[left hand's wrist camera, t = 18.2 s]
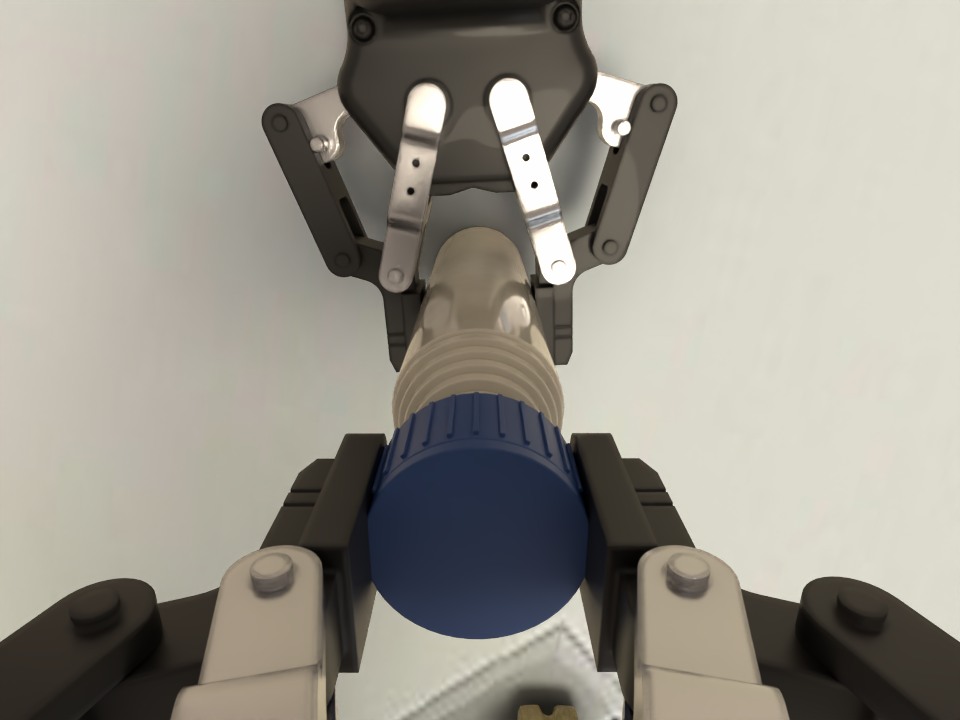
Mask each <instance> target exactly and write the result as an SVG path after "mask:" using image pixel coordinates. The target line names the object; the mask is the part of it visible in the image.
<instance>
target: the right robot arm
mask: <svg viewBox="0 0 960 720" xmlns="http://www.w3.org/2000/svg"><path fill="white" fill-rule="evenodd" d="M344 4H345V13H346V22H347V33H348V42H347V50H346V55H345V58H344V61H343V64H342V66H341V69H340V71H339V75H338V82H337V86H336V87H334V88H331V89H329V90H327V91H324V92H322V93H320V94H317V95H315V96H313V97H310V98H308V99H305V100H303V101H301V102H298V103H296V104H293V105H290V104H281V103H276V104H272V105H270V106H269V107H267V108H266V110H265V111H264V113H263V115H262V127H263V130H264V132H265V134H266V136H267V138H268V141H269V143H270V145H271V147H272V149H273V151H274V153H275V156H276V158H277V160H278V162H279V164H280V166H281V168H282V171H283V173H284V175H285V177H286V179H287V181H288V184H289V186H290V188H291V190H292V192H293V194H294V196H295V199H296V201H297V203H298V205H299V207H300V209H301V211H302V214H303V216H304V218H305V220H306V222H307V224H308V226H309V229H310V231H311V233H312V235H313V237H314V239H315V241H316V244H317V246H318V248H319V250H320V252H321V254H322V257H323V259H324V261H325V263H326V265H327V267H328V269H329V270H330V271H331V272H332V273H333V274H335V275H337V276H339V277H348V276H353V277H356V278H360V279H363V280H366V281H369V282H371V283H373V284H374V285H376V286H377V287H378V288H379V290H380V291H381V293H382V296H383V300H384V309H385V318H386V328H387V335H388V336H387V337H388V345H389V356H390V361H391V363H392V365H393V367H394V369H395V370H396V372H400V369H401V366H402V363H403V360H404V357H405V354H406V350H407V347H408V344H409V341H410V338H411V335H412V332H413V329H414V326H415V323H416V320H417V317H418V313H419V310H420V307H421V304H422V301H423V298H424V295H425V292H426V287H425V279H424V280H419V272H418V266H419V262H420V257H421V252H422V247H423V242H424V237H425V232H426V227H427V223H428V219H429V215H430V210H431V206H432V201H433V196H442V195H451V194H454V193H457V192H460V191H463V190H466V189H469V188H478V189H482V190H487V191H491V192H496V193H499V192H515V194H516V197H517V200H518V203H519V206H520V210H521V213H522V215H523V218H524V221H525V225H526V228H527V231H528V234H529V237H530V241H531V244H532V247H533V250H534V253H535V256H536V257H535V263H536V274H532V275H530V283H531V291H532V294H533V297H534V301H535V304H536V307H537V310H538V313H539V317H540V320H541V323H542V326H543V329H544V333H545V336H546V339H547V342H548V345H549V349H550V352H551V355H552V358H553V361H554V365H567V364H568V361H569V359H570V356H571V354H572V290H573V285H574V282H575V280H576V279H577V277H578V276H579V275H580V274H581V273H583V272H584V271H586V270H589V269H591V268H593V267H596V266H598V265H601V264H607V265H611V264H615V263H617V262H619V261H621V260H622V259H623V258H624V256H625V255H626V252H627V249H628V247H629V244H630V241H631V238H632V235H633V232H634V229H635V226H636V223H637V221H638V218H639V215H640V212H641V209H642V206H643V203H644V200H645V197H646V195H647V192H648V189H649V186H650V183H651V180H652V177H653V174H654V171H655V169H656V166H657V163H658V160H659V157H660V154H661V151H662V148H663V145H664V143H665V140H666V137H667V134H668V131H669V128H670V125H671V122H672V119H673V117H674V114H675V111H676V108H677V96H676V93H675V91H674V90H673V89H672V88H671V87H670V86H668V85H666V84H662V83H659V84H649V85H642V84H638V83H635V82H632V81H628V80H625V79H621V78H618V77H615V76H611V75H608V74H604V73H601V72H598V70H597V64H596V61H595V58H594V56H593V54H592V52H591V50H590V48H589V46H588V44H587V42H586V39H585V36H584V31H583V26H582V0H344ZM587 103H590V104H591V105H592V106H594V108H595V109H596V111H597V114H598V127H597V132H598V136H599V138H600V139H601V141H602V142H603V143H605V144H606V145H609V146H610V149H609V152H608V155H607V158H606V161H605V164H604V168H603V171H602V174H601V177H600V180H599V183H598V186H597V189H596V193H595V196H594V199H593V202H592V205H591V208H590V211H589V215H588V218H587V221H586V224H585V227H583V228H580V229H578V230H575V231H573V232H571V233H568V234H567V232H566V229H565V225H564V222H563V218H562V213H561V208H560V204H559V201H558V197H557V194H556V191H555V187H554V184H553V180H552V177H551V173H550V170H549V167H548V163H549V161H550V160H551V158H552V157H553V155H554V154H555V152H556V151H557V149H558V148H559V146H560V144H561V143H562V141H563V140H564V138H565V137H566V135H567V134H568V132H569V131H570V129H571V128H572V126H573V125H574V123H575V122H576V120H577V119H578V117H579V116H580V114H581V113H582V111H583V110H584V108H585V106H586V105H587ZM350 116H351V117H352V118H353V120H354V121H355V122H356V123H357V125H358V126H359V127H360V128H361V129H362V131H363V132H364V133H365V134H366V136H367V137H368V138H369V139H370V140H371V142H372V143H373V144H374V145H375V147H376V148H377V149H378V150H379V151H380V153H381V154H382V155H383V156H384V158H385V159H386V160H387V161H388V162H389V164H390V165H391V166H392V167H393V169H394V170H395V176H394V182H393V187H392V193H391V199H390V204H389V210H388V216H387V230H386V235H385V241H384V243H383V242H379V241H376V240H373V239H369V238H368V237H367V235H366V232H365V230H364V228H363V226H362V223H361V221H360V219H359V216H358V214H357V212H356V209H355V207H354V205H353V203H352V200H351V198H350V196H349V193H348V191H347V189H346V187H345V184H344V182H343V180H342V177H341V175H340V173H339V170H338V168H337V166H336V164H335V161H334V160H336V159H338V158H339V157H340V156H341V155H342V153H343V151H344V148H345V141H344V137H343V125H344V123H345V121H346V119H347V118H348V117H350Z"/></svg>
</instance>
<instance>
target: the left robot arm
mask: <svg viewBox="0 0 960 720" xmlns="http://www.w3.org/2000/svg"><path fill="white" fill-rule="evenodd" d="M385 445H387V442H386V436H385V434H346V435H345V436H344V439H343V441H342V443H341V445H340V448H339V450H338V452H337V455H336V457H335V459H317V460H315V461H314V462H313V463H311V464H310V465H309V466H307V467H306V468H305V469H304V470H302V471H301V472H300V473H299V474H298V476H297V478H296V480H295V482H294V484H293V486H292V488H291V492H290V493H288V495H287V497H286V499H285V501H284V505H283V507H281V509H280V511H279V513H278V515H277V517H276V519H275V520H274V522H273V524H272V526H271V528H270V530H269V532H268V534H267V536H266V538H265V540H264V542H263V544H262V546H261V548H260V549H259V550H257V551H255V552H252V553H250V554H248V555H246V556H244V557H243V558H241V559H240V560H238V561H237V562H235V563H234V564H233V565H232V566H231V567H230V568H229V569H228V570H227V571H226V573H225V574H224V576H223V578H222V581H221V584H220V587H219V588H217V589H214V590H212V591H209V592H206V593H203V594H199V595H195V596H190V597H186V598H181V599H177V600H172V601H168V602H163V603H159V604H157V599H156V595H155V591H154V590H153V588H152V587H151V586H150V585H149V584H147V583H146V582H143V581H141V580H137V579H129V578H121V579H112V580H106V581H102V582H98V583H95V584H92V585H89V586H86V587H84V588H81V589H79V590H77V591H75V592H73V593H71V594H69V595H67V596H66V597H64V598H63V599H61V600H60V601H58V602H57V603H55V604H54V605H52V606H51V607H50V608H48V609H47V610H45V611H44V612H42V613H41V614H40V615H38V616H37V617H35V618H34V619H32V620H31V621H30V622H28V623H27V624H25V625H24V626H23V627H21V628H20V629H18V630H17V631H15V632H14V633H13V634H11V635H10V636H8V637H7V638H5V639H4V640H3V641H1V642H0V720H338V713H337V702H336V693H335V685H336V681H337V677H338V673H358V672H359V668H360V663H361V659H362V654H363V650H364V645H365V641H366V636H367V631H368V627H369V622H370V618H371V613H372V609H373V604H374V600H375V595H376V591H377V589H376V587H375V585H374V583H373V581H372V577H371V563H370V549H369V535H368V521H367V514H368V511H369V507H370V505H371V501H372V497H373V494H371V490H372V487H373V483H374V480H375V477H376V473H377V470H378V467H379V463H380V460H381V456H382V453H383V450H384V447H385ZM570 445H571V448H572V452H573V455H574V459H575V462H576V466H577V469H578V473H579V477H580V480H581V484H582V487H583V492H582V496H583V500H584V503H585V507H586V511H587V514H588V518H589V526H588V541H587V555H586V569H585V577H584V580H583V582H582V583H581V585H580V587H579V588H580V592H581V597H582V602H583V607H584V611H585V616H586V621H587V625H588V630H589V635H590V639H591V644H592V649H593V653H594V658H595V663H596V668H597V672H617V674H618V678H619V682H620V686H621V690H622V693H623V696H624V702H623V713H622V720H960V642H959V641H957V640H956V639H955V638H953V637H952V636H950V635H949V634H947V633H946V632H945V631H943V630H942V629H940V628H939V627H937V626H936V625H935V624H933V623H932V622H930V621H929V620H927V619H926V618H925V617H923V616H922V615H920V614H919V613H918V612H916V611H915V610H913V609H912V608H910V607H909V606H908V605H906V604H905V603H903V602H902V601H900V600H899V599H898V598H896V597H894V596H893V595H891V594H890V593H888V592H886V591H884V590H882V589H880V588H878V587H876V586H873V585H871V584H868V583H865V582H862V581H859V580H855V579H851V578H844V577H822V578H818V579H815V580H813V581H811V582H809V583H808V584H807V585H806V586H805V587H804V589H803V592H802V596H801V600H800V603H795V602H790V601H786V600H781V599H777V598H772V597H768V596H763V595H759V594H755V593H751V592H748V591H745V590H743V589H741V588H740V583H739V581H738V578H737V576H736V574H735V573H734V571H733V570H732V569H731V568H730V567H729V566H728V565H727V564H726V563H725V562H723V561H722V560H721V559H719V558H717V557H716V556H714V555H712V554H710V553H708V552H705V551H703V550H700V549H696V548H695V546H694V544H693V542H692V540H691V538H690V536H689V534H688V532H687V530H686V528H685V526H684V524H683V522H682V520H681V518H680V516H679V514H678V512H677V510H676V508H675V506H673V502H672V500H671V498H670V496H669V494H668V493H667V492H666V489H665V487H664V485H663V483H662V481H661V479H660V477H659V475H658V473H657V472H656V471H655V470H653V469H652V468H651V467H650V466H648V465H647V464H646V463H644V462H643V461H642V460H641V459H639V458H621V456H620V453H619V451H618V449H617V446H616V444H615V441H614V439H613V437H612V435H611V434H610V433H572V435H571V440H570Z"/></svg>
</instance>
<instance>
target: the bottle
mask: <svg viewBox="0 0 960 720" xmlns="http://www.w3.org/2000/svg"><path fill="white" fill-rule="evenodd" d="M474 392H479V393H488V394H495V395H498V394H502V395H503V396H505V397H509V398H512V399H515V400H517V401H520V400H521V401H524V402H525V404H526V405H528V406H530V407H532V408H534V409H535V410H537V411H538V412H540V411H541V412H543V413H544V416H545V417H546V418H547V419H548V420H549V421H550V422H551V423H552V424H553V425H554V426H555V427H556V426H558V427H559V428H560V432H561V428H562V422H563V415H564V397H563V392H562V387H561V384H560V381H559V377H558V374H557V371H556V368H555V365H554V361H553V358H552V355H551V352H550V349H549V345H548V342H547V339H546V336H545V333H544V329H543V326H542V323H541V320H540V317H539V313H538V310H537V307H536V304H535V301H534V297H533V294H532V291H531V288H530V285H529V281H528V278H527V275H526V272H525V269H524V265H523V262H522V259H521V256H520V253H519V251H518V249H517V248H516V246H515V245H514V243H513V242H512V241H511V240H510V239H509V238H508V237H507V236H505V235H504V234H502V233H501V232H499V231H496V230H494V229H491V228H486V227H471V228H467V229H464V230H461V231H459V232H457V233H455V234H454V235H452V236H451V237H450V238H449V239H448V240H447V241H446V242H445V243H444V244H443V246H442V247H441V249H440V250H439V253H438V255H437V258H436V261H435V264H434V267H433V270H432V273H431V276H430V279H429V283H428V286H427V289H426V292H425V295H424V298H423V301H422V304H421V307H420V310H419V313H418V317H417V320H416V323H415V326H414V329H413V332H412V335H411V338H410V341H409V344H408V347H407V350H406V354H405V357H404V360H403V363H402V366H401V369H400V372H399V375H398V378H397V381H396V385H395V388H394V392H393V400H392V414H393V421H394V427H395V429H396V428H397V427H398V428H400V427H401V426H402V424H403V423H404V422H405V421H407V420H408V419H409V417H410V414H412V413H414V414H415V413H416V412H418V411H419V410H421V409H422V408H424V407H425V406H427V405H429V403H430V402H432V401H433V402H435V401H438V400H441V399H444V398H446V397H451V395H453V394H455V395H459V394H468V393H474Z"/></svg>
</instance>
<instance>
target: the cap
mask: <svg viewBox="0 0 960 720" xmlns="http://www.w3.org/2000/svg"><path fill="white" fill-rule="evenodd" d="M582 492H583V487H582V484H581V480H580V477H579V473H578V469H577V466H576V462H575V459H574V455H573V452H572V448H571V445H570V443H568V444H566V442H565V440H564V438H563V437H562V435H561V432H560V428H559V427H558V426H556V427H555V426H554V425H553V424H552V423H551V422H550V421H549V420H548V419H547V418H546V417H545V416H544V413H543V412H541V411H540V412H538V411H537V410H535V409H534V408H532V407H530V406H528V405H526V404H525V402H524V401H521V400H520V401H517V400H515V399H512V398H509V397H505V396H503V395H502V394H498V395H495V394H488V393H479V392H474V393H468V394H459V395H455V394H453V395H451V397H446V398H444V399H441V400H438V401H435V402H433V401H432V402H430V403H429V405H427V406H425V407H424V408H422V409H421V410H419V411H418V412H416V413H415V414H414V413H412V414H410V417H409V419H408V420H407V421H405V422H404V423H403V424H402V426H401V427H400V428H398V427H397V428H396V429H395V431H394V434H393V438H392V440H391V441H390V443H389V445H385V447H384V450H383V453H382V456H381V460H380V463H379V467H378V470H377V473H376V477H375V480H374V483H373V487H372V490H371V494H373V497H372V501H371V505H370V507H369V511H368V514H367V521H368V535H369V549H370V563H371V577H372V581H373V583H374V585H375V587H376V589H377V590H378V591H379V593H380V594H381V595H382V597H383V598H384V599H385V600H386V601H387V602H388V603H389V604H390V605H391V606H392V607H393V609H395V610H396V611H397V612H398V613H400V614H401V615H402V616H404V617H405V618H407V619H408V620H410V621H412V622H413V623H415V624H417V625H419V626H421V627H423V628H425V629H427V630H430V631H433V632H436V633H439V634H442V635H447V636H451V637H456V638H465V639H490V638H499V637H504V636H509V635H513V634H516V633H519V632H523V631H525V630H528V629H530V628H532V627H534V626H537V625H538V624H540V623H542V622H544V621H545V620H547V619H549V618H550V617H551V616H553V615H554V614H555V613H557V612H558V611H559V610H560V609H561V608H562V607H564V606H565V605H566V604H567V603H568V602H569V600H570V599H571V598H572V597H573V595H574V594H575V593H576V592H577V590H578V588H579V587H580V585H581V583H582V582H583V580H584V577H585V569H586V555H587V541H588V526H589V518H588V514H587V511H586V507H585V503H584V500H583V496H582Z"/></svg>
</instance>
